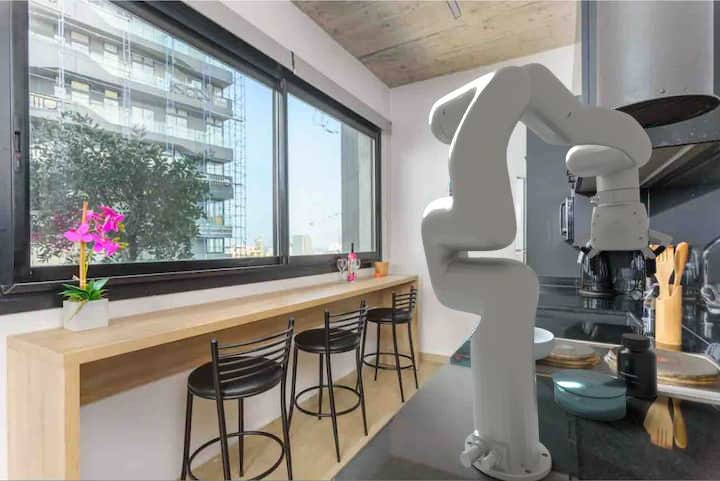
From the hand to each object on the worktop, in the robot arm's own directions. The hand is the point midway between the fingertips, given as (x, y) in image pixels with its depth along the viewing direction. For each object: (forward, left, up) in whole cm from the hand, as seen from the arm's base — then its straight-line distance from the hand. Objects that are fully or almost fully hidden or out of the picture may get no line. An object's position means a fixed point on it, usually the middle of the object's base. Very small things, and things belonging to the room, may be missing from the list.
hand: (621, 275), depth 77 cm
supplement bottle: (-2, -2, -25) cm, 25 cm away
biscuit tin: (-15, +3, -25) cm, 29 cm away
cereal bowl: (+2, +25, -25) cm, 35 cm away
